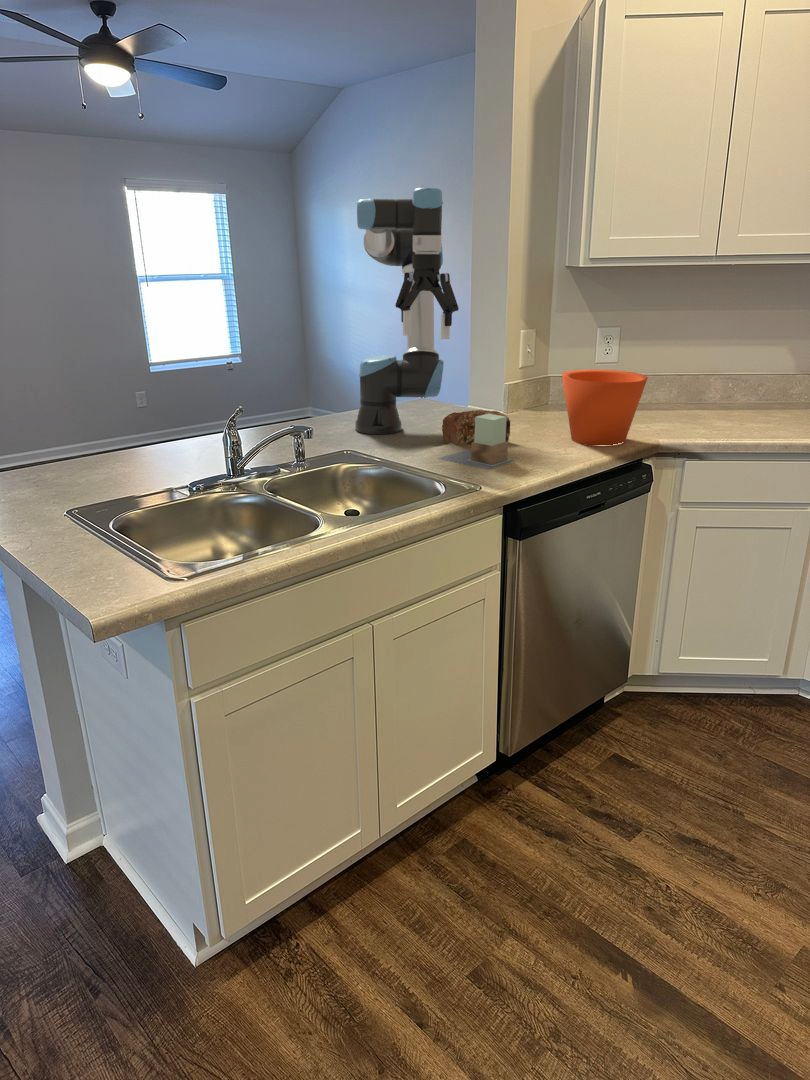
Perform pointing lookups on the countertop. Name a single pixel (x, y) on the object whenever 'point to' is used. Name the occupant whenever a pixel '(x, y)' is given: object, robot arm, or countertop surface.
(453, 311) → the robot arm
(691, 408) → the countertop surface
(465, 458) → the build mat
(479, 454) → the walnut base
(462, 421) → the bread
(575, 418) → the flowerpot
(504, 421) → the green block
